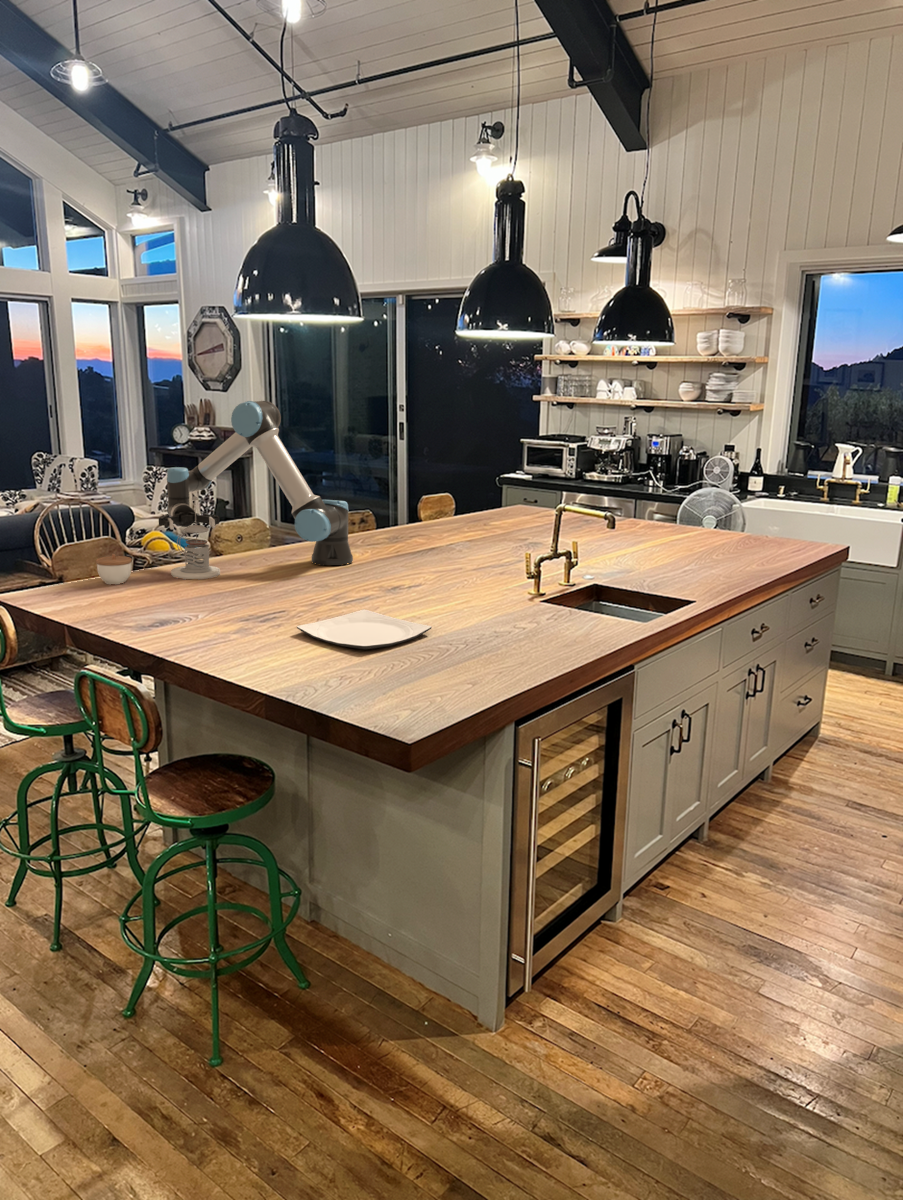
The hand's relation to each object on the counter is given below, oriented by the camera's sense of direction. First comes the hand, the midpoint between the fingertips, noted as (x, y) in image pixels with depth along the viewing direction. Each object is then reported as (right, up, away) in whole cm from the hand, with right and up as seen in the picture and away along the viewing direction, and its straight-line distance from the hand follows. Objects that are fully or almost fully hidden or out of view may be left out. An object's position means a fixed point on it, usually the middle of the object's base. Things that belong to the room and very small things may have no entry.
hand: (193, 524), depth 308 cm
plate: (+63, -35, -60) cm, 94 cm away
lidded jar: (-22, -20, -10) cm, 32 cm away
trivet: (0, -17, +4) cm, 17 cm away
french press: (0, -15, +4) cm, 16 cm away
